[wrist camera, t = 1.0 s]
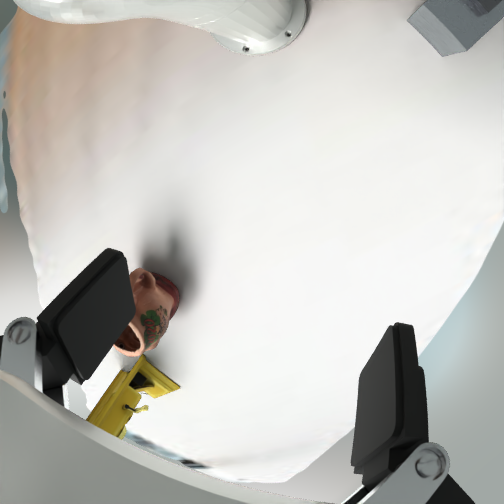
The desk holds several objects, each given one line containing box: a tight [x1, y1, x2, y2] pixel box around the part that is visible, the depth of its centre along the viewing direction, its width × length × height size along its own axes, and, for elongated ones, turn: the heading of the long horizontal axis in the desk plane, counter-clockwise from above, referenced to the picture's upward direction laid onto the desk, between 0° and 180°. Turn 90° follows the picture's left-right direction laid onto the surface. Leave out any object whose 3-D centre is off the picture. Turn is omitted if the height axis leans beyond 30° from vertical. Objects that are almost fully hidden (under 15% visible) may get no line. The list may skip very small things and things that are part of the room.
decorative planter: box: [113, 268, 179, 357], centre depth 51 cm, size 20×12×14 cm, turn 169°
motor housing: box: [407, 0, 504, 57], centre depth 17 cm, size 6×14×10 cm, turn 141°
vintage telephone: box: [86, 354, 180, 440], centre depth 67 cm, size 31×14×30 cm, turn 138°
